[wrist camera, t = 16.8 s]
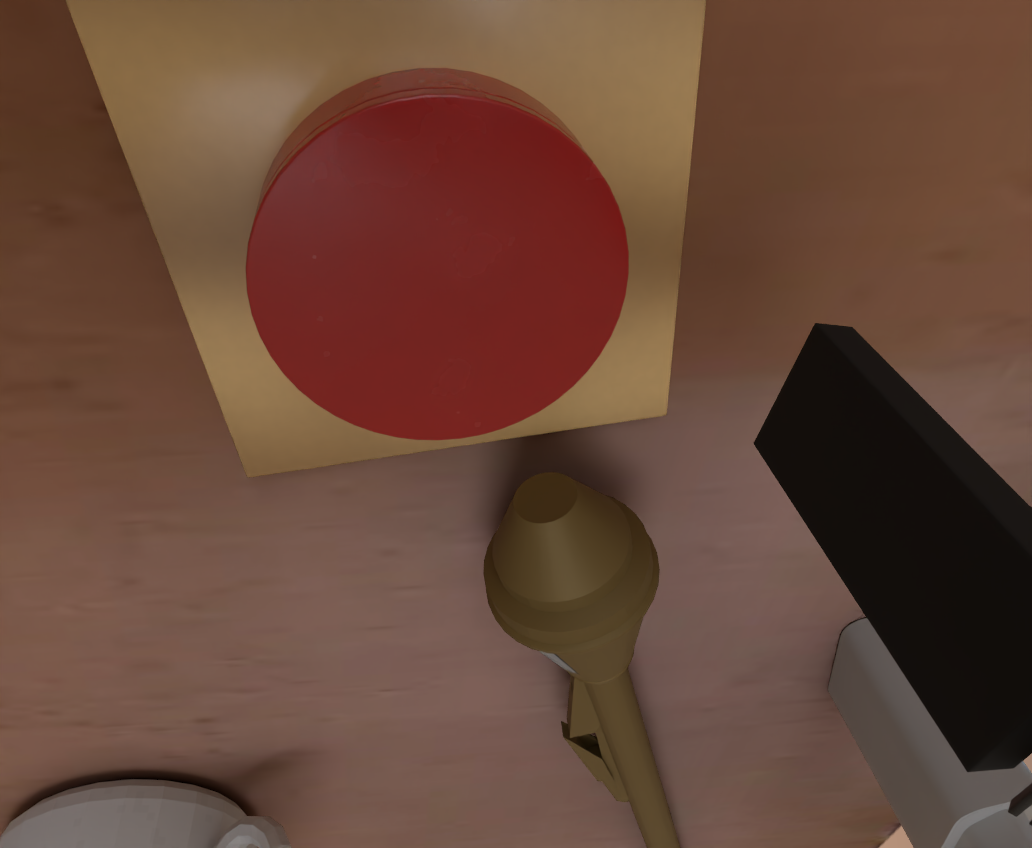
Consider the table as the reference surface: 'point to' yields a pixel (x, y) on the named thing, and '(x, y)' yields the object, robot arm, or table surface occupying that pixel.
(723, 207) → the table surface
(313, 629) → the table surface
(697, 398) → the table surface
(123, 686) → the table surface
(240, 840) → the mug
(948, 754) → the power adapter
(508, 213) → the lid
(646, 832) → the toy grenade launcher
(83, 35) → the coaster
